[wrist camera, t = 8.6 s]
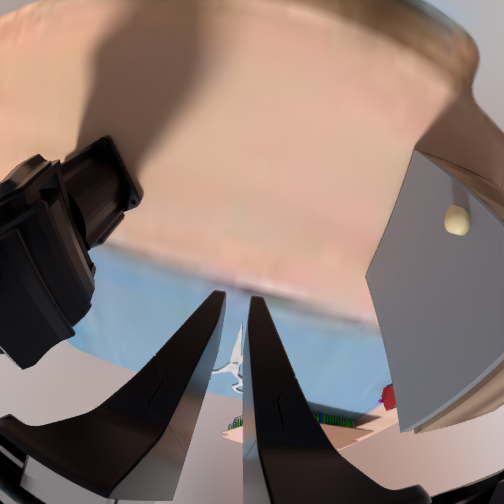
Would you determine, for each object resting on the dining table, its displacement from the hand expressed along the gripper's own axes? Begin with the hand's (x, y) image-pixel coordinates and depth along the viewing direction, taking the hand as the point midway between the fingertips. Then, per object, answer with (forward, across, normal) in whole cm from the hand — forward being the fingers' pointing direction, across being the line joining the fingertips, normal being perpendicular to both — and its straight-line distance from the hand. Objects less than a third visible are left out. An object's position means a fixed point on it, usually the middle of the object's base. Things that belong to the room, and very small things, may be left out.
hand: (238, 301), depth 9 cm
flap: (+12, -10, +2) cm, 16 cm away
